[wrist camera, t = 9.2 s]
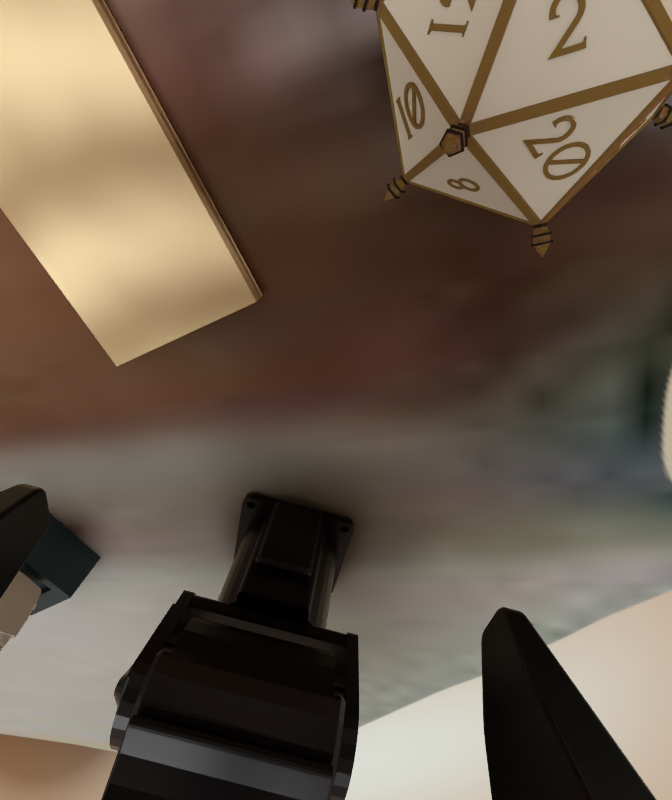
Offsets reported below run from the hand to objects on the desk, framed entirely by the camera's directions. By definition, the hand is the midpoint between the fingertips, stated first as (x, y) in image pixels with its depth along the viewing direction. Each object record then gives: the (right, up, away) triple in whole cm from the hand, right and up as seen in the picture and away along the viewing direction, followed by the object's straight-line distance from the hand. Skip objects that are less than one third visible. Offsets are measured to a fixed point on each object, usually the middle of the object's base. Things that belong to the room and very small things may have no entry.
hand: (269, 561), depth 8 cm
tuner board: (-9, +14, +9) cm, 19 cm away
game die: (+7, +14, +7) cm, 17 cm away
